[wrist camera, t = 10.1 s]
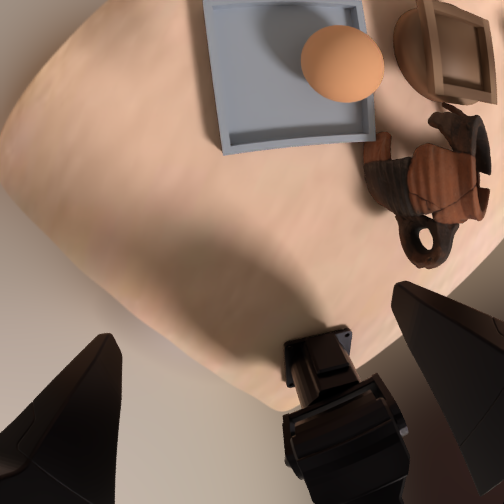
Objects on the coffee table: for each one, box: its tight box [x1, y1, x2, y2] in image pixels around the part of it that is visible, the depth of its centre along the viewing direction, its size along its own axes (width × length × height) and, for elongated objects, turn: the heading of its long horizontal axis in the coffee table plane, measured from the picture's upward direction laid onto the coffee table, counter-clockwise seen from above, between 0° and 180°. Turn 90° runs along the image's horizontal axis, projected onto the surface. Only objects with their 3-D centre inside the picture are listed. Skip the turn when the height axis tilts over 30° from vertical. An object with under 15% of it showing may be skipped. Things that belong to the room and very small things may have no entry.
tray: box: [203, 0, 376, 156], centre depth 16 cm, size 10×10×2 cm
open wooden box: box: [393, 0, 497, 105], centre depth 15 cm, size 8×8×4 cm
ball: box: [301, 25, 384, 103], centre depth 15 cm, size 5×5×5 cm
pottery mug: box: [363, 102, 491, 269], centre depth 19 cm, size 12×10×8 cm
